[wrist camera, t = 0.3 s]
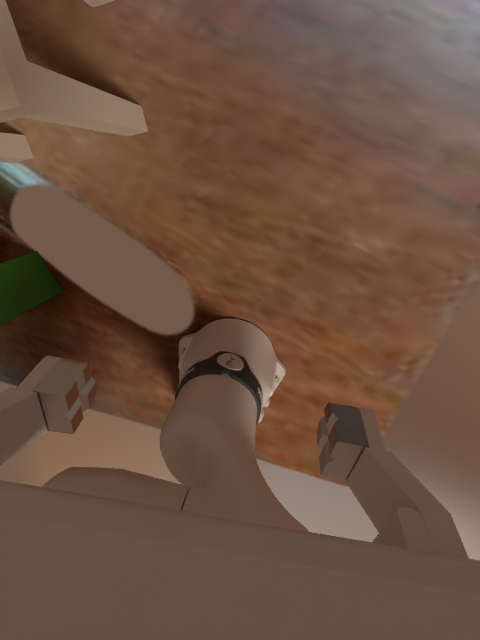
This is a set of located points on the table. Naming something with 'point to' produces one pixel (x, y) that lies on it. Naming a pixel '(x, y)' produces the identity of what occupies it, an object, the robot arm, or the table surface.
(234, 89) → the table surface
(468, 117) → the table surface
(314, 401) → the table surface
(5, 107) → the stand
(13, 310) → the hardback book
